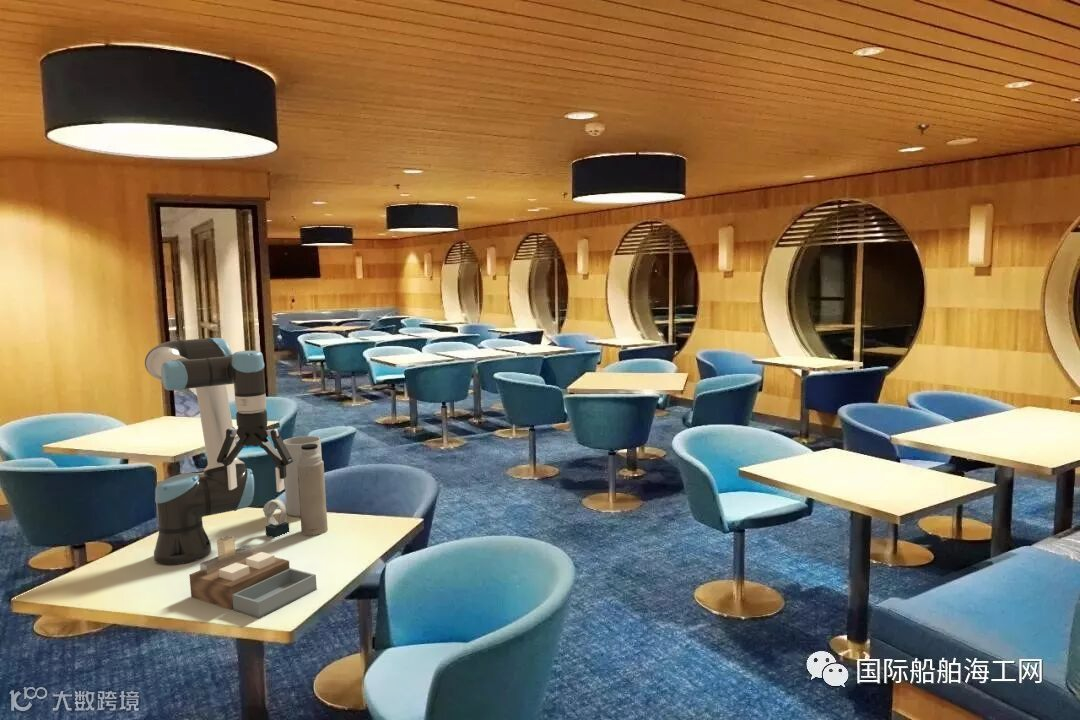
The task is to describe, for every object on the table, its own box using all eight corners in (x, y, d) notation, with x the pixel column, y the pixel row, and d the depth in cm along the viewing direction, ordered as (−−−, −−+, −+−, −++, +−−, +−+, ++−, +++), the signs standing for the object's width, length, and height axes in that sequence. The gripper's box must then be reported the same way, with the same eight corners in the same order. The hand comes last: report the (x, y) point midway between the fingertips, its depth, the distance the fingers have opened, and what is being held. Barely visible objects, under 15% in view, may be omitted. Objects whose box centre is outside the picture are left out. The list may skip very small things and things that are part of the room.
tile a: (219, 577, 187) (219, 569, 186) (236, 569, 191) (235, 562, 191) (232, 580, 184) (232, 573, 184) (249, 573, 188) (249, 565, 188)
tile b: (246, 565, 193) (245, 558, 193) (262, 559, 198) (261, 551, 198) (259, 569, 191) (258, 561, 191) (274, 562, 195) (274, 555, 195)
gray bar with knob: (200, 572, 190) (197, 546, 189) (246, 553, 202) (244, 529, 201) (207, 574, 188) (205, 548, 187) (253, 555, 200) (251, 530, 199)
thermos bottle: (297, 535, 232) (291, 448, 228) (306, 527, 240) (301, 442, 236) (323, 535, 231) (317, 447, 228) (331, 526, 239) (325, 441, 236)
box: (233, 610, 181) (232, 594, 181) (291, 582, 197) (290, 568, 196) (259, 618, 177) (258, 602, 176) (316, 589, 192) (315, 574, 192)
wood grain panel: (191, 597, 189) (189, 574, 189) (250, 571, 205) (248, 550, 204) (232, 610, 181) (230, 586, 181) (290, 582, 197) (289, 560, 196)
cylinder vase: (313, 518, 248) (308, 445, 245) (279, 516, 251) (274, 444, 248) (331, 506, 260) (327, 436, 257) (298, 504, 263) (294, 435, 260)
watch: (275, 529, 238) (273, 496, 237) (293, 533, 234) (291, 499, 233) (261, 534, 234) (259, 500, 232) (279, 538, 230) (276, 504, 228)
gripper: (198, 412, 191) (204, 492, 194) (289, 414, 187) (294, 495, 190) (215, 406, 199) (221, 483, 201) (303, 408, 195) (307, 486, 198)
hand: (256, 489), depth 196 cm, fingers open, 13 cm apart
